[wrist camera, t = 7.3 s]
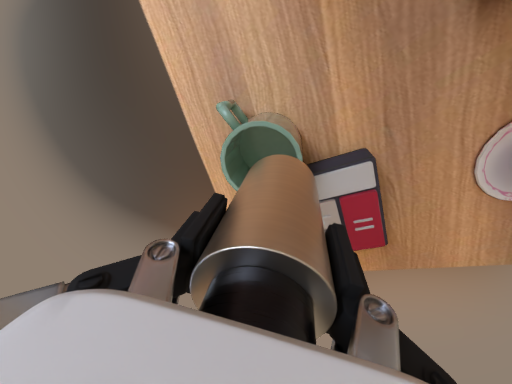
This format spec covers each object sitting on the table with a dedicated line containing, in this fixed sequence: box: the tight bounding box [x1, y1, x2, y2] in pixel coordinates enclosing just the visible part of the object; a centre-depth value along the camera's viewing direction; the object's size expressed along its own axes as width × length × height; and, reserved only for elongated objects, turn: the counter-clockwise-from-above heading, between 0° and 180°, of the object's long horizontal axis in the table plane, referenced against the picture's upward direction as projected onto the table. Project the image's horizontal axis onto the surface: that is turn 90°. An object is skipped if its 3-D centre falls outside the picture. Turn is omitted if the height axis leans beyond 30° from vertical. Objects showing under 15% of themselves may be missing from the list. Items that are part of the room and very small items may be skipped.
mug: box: [216, 100, 303, 191], centre depth 27 cm, size 13×10×8 cm
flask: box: [189, 155, 337, 345], centre depth 11 cm, size 6×6×12 cm
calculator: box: [307, 148, 388, 251], centre depth 32 cm, size 11×4×15 cm
